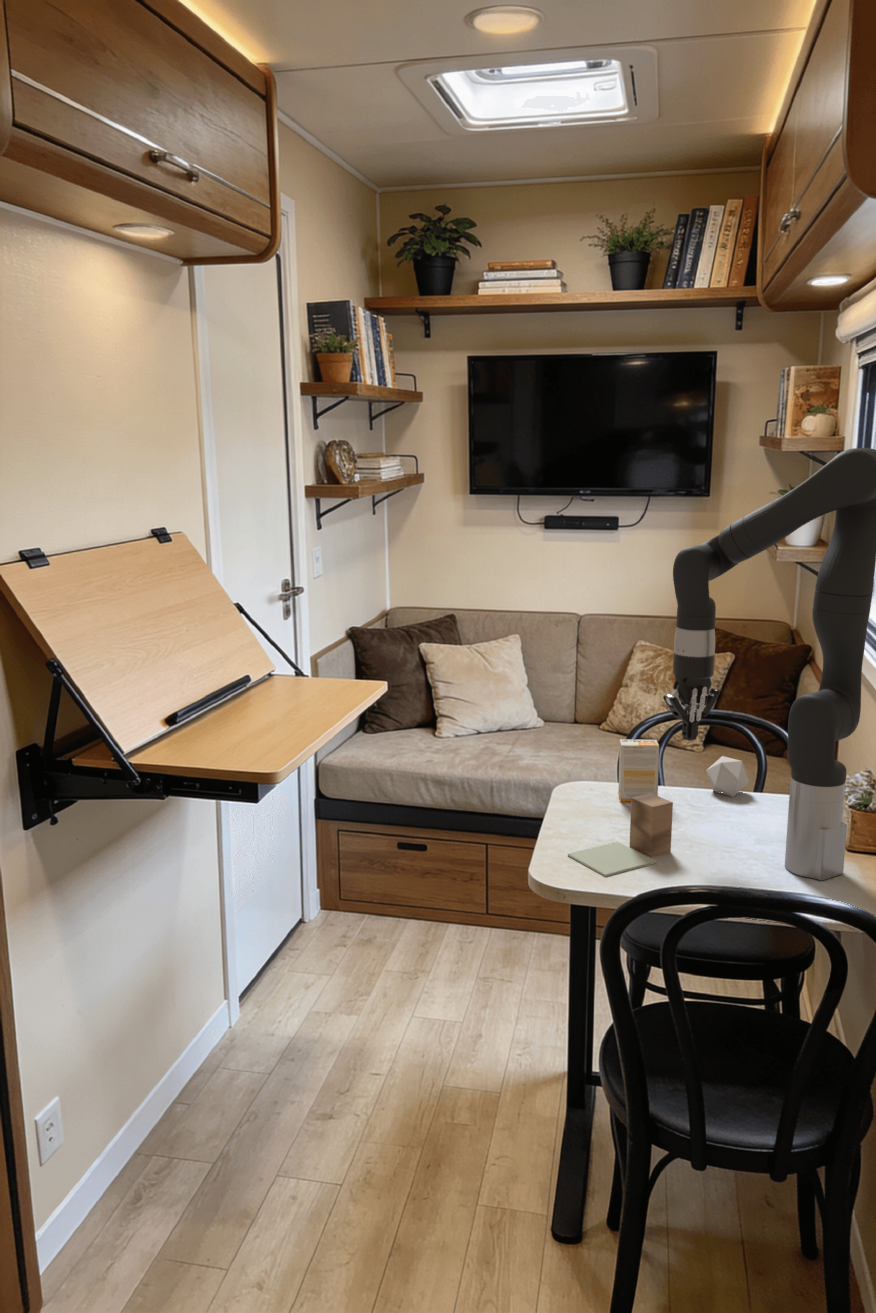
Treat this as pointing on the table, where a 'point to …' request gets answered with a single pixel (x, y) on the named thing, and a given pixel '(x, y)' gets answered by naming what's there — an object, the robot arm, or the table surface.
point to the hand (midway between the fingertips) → (689, 739)
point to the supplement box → (638, 768)
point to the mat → (611, 858)
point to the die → (727, 776)
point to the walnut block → (651, 824)
